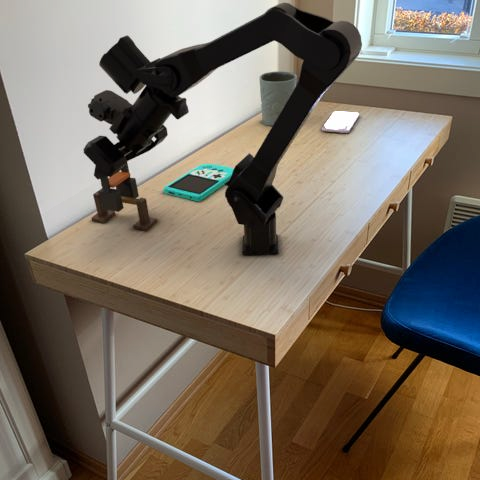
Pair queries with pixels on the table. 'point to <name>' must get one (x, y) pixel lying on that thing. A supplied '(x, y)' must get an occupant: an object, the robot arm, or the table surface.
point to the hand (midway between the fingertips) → (108, 169)
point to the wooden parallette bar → (144, 219)
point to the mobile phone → (340, 122)
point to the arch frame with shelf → (117, 189)
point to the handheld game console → (199, 182)
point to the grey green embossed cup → (275, 93)
